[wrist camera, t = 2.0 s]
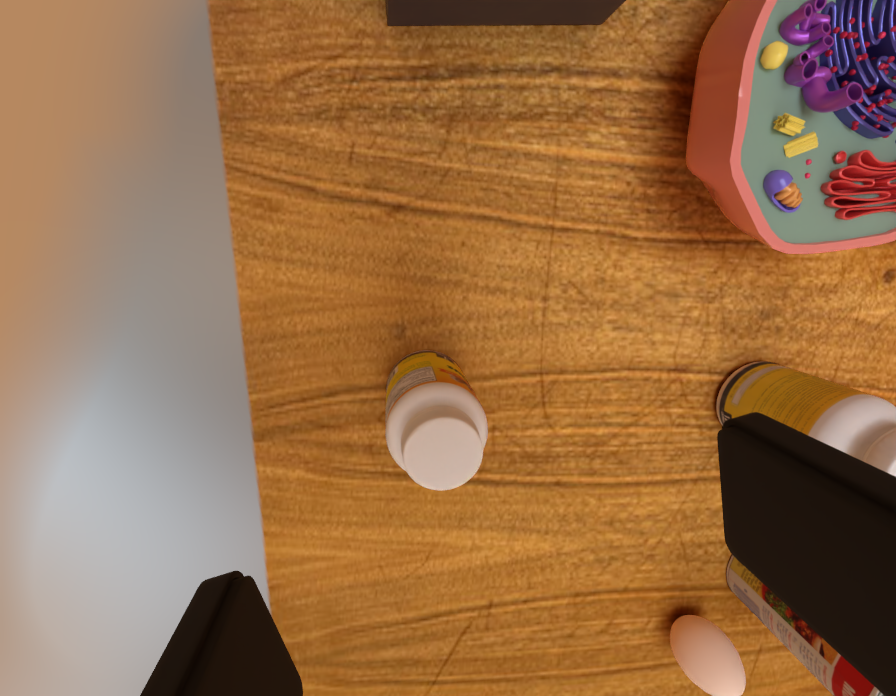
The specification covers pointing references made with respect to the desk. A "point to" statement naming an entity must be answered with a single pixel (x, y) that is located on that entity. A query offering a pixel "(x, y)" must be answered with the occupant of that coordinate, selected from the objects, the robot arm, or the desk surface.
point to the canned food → (797, 635)
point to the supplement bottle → (434, 421)
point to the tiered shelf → (499, 12)
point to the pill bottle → (814, 410)
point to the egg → (707, 656)
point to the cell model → (799, 122)
